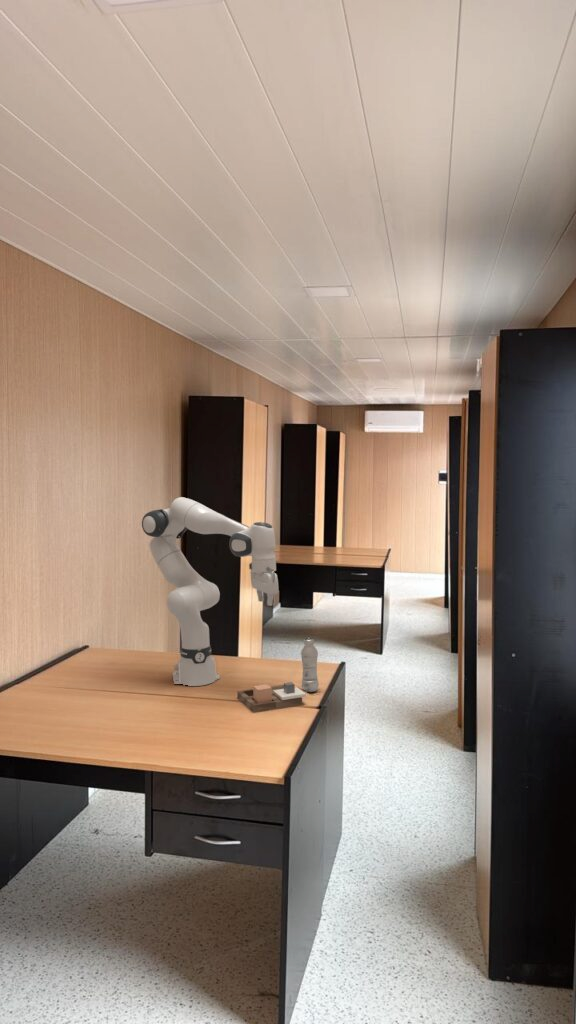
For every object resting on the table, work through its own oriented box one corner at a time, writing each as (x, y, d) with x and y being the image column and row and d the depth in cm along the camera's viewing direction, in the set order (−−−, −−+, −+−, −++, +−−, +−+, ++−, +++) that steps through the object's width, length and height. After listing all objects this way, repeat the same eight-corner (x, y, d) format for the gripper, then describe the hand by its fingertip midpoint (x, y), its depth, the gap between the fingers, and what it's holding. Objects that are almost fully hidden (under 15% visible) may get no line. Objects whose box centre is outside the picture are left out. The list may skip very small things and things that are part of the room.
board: (237, 700, 272) (237, 691, 272) (283, 693, 279) (283, 684, 279) (253, 715, 256) (253, 705, 255) (302, 707, 262) (302, 697, 262)
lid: (273, 693, 268) (272, 682, 267) (296, 689, 271) (295, 678, 271) (282, 700, 259) (281, 688, 259) (306, 696, 262) (305, 685, 262)
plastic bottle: (298, 693, 279) (297, 640, 278) (306, 688, 285) (305, 636, 284) (314, 695, 276) (312, 641, 275) (321, 689, 282) (320, 637, 281)
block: (253, 705, 263) (253, 686, 263) (267, 703, 265) (266, 684, 264) (258, 709, 258) (257, 689, 258) (272, 707, 260) (271, 687, 260)
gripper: (282, 568, 268) (283, 607, 269) (262, 562, 287) (264, 598, 288) (265, 570, 266) (267, 608, 267) (247, 564, 285) (248, 599, 286)
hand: (265, 603), depth 278 cm, fingers open, 8 cm apart
